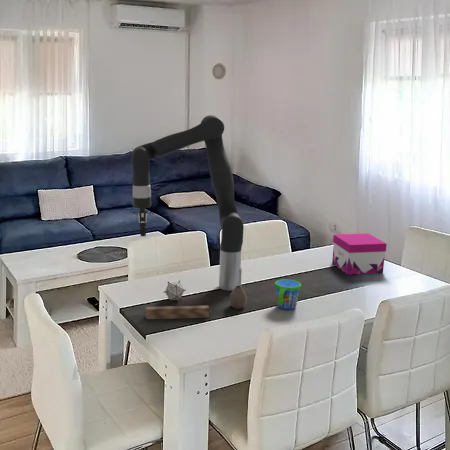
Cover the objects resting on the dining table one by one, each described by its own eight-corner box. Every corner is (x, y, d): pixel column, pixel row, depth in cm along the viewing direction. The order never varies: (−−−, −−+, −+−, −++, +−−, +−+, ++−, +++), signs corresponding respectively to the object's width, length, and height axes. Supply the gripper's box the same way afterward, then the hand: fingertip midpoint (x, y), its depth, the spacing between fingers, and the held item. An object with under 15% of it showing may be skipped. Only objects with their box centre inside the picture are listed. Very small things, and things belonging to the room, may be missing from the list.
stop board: (207, 315, 239) (208, 305, 238) (208, 317, 237) (208, 307, 236) (145, 316, 236) (145, 306, 235) (145, 319, 234) (145, 309, 233)
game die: (177, 310, 253) (181, 297, 246) (158, 301, 254) (162, 287, 246) (186, 294, 259) (190, 280, 252) (168, 285, 260) (171, 272, 252)
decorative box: (331, 263, 310) (333, 234, 306) (366, 261, 314) (368, 233, 311) (347, 275, 292) (349, 245, 288) (383, 273, 297) (386, 243, 293)
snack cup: (284, 298, 260) (285, 275, 257) (306, 304, 254) (308, 280, 252) (265, 309, 247) (267, 285, 244) (289, 315, 241) (290, 291, 239)
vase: (228, 303, 252) (229, 283, 250) (245, 303, 252) (246, 283, 250) (230, 310, 245) (230, 289, 243) (247, 310, 246) (248, 289, 243)
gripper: (151, 198, 248) (152, 237, 252) (150, 192, 262) (151, 228, 266) (132, 199, 247) (133, 238, 251) (132, 192, 261) (134, 229, 265)
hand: (143, 233), depth 258 cm, fingers open, 8 cm apart
